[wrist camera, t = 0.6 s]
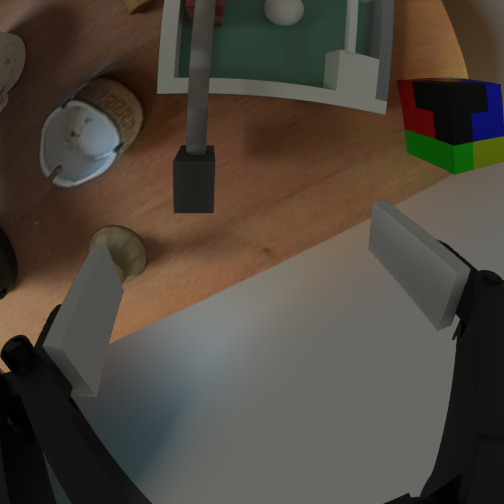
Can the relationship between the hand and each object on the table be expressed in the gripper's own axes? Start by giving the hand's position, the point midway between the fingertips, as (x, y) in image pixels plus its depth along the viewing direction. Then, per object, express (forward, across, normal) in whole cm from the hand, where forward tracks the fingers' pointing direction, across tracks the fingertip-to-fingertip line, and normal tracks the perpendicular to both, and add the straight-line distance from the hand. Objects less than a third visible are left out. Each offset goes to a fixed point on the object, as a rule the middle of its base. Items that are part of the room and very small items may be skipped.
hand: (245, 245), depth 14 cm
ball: (+18, +8, +16) cm, 26 cm away
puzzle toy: (+22, +29, +4) cm, 36 cm away
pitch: (+22, +8, +16) cm, 28 cm away
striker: (+20, 0, +13) cm, 24 cm away
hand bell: (+23, -16, -10) cm, 29 cm away
